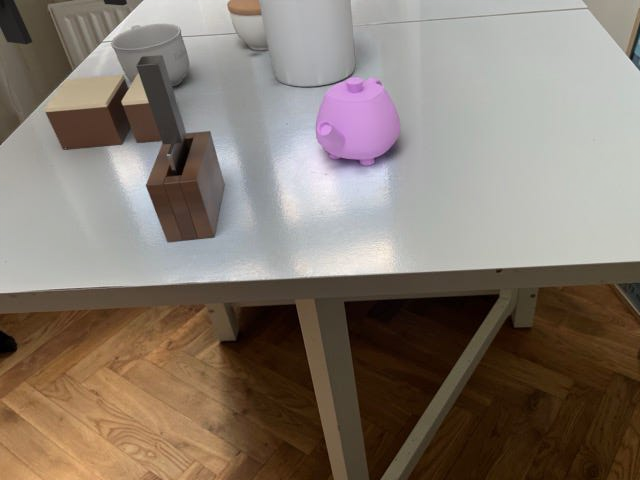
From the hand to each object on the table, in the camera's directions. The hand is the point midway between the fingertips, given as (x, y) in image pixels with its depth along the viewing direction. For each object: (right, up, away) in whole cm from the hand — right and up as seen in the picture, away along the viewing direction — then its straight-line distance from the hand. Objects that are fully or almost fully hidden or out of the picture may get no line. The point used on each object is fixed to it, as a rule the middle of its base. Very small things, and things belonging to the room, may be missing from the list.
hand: (71, 22), depth 60 cm
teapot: (+30, -12, +12) cm, 35 cm away
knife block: (+13, -20, +3) cm, 24 cm away
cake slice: (+1, -5, +20) cm, 21 cm away
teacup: (-4, +6, +34) cm, 34 cm away
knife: (+13, -20, +3) cm, 24 cm away
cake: (-7, -6, +20) cm, 22 cm away
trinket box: (+11, +17, +45) cm, 50 cm away
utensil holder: (+22, +8, +34) cm, 41 cm away
